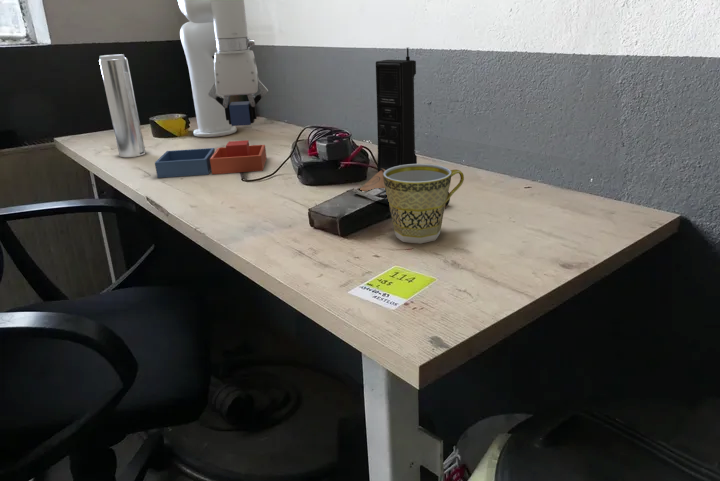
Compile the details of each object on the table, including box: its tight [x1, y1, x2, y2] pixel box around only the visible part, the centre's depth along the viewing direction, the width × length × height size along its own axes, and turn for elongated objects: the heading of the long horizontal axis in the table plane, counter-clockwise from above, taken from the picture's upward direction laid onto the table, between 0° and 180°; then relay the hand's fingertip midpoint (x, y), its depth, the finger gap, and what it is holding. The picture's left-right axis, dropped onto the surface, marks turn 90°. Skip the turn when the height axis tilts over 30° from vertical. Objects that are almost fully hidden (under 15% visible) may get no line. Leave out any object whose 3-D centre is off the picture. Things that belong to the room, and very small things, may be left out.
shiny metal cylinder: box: [98, 53, 146, 158], centre depth 144 cm, size 6×6×25 cm
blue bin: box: [154, 147, 216, 179], centre depth 131 cm, size 11×11×4 cm
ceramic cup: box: [383, 163, 465, 245], centre depth 86 cm, size 13×10×10 cm
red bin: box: [210, 144, 267, 175], centre depth 132 cm, size 11×11×4 cm
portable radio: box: [375, 47, 418, 172], centre depth 117 cm, size 8×6×25 cm
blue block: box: [229, 100, 252, 127], centre depth 141 cm, size 5×5×5 cm
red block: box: [225, 139, 250, 157], centre depth 131 cm, size 5×5×5 cm
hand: (241, 121), depth 142 cm, fingers closed on blue block, 4 cm apart
